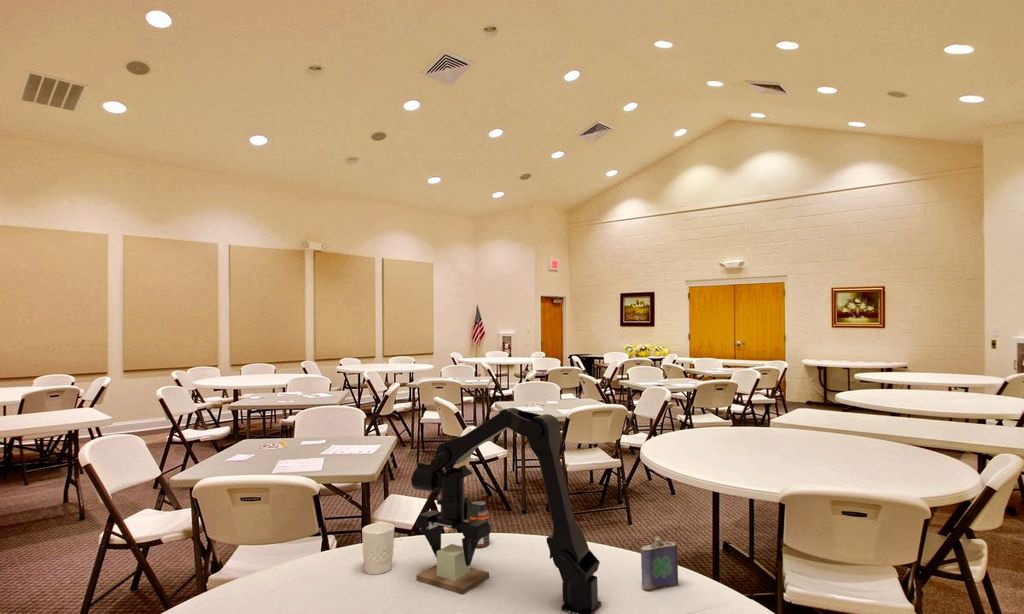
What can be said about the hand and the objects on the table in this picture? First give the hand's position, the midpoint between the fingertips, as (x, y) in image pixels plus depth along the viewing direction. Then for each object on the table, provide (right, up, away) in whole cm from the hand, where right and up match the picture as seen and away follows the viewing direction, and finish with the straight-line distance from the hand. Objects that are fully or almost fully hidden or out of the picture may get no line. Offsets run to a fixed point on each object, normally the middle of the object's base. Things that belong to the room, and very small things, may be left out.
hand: (453, 561), depth 122 cm
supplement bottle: (+5, -6, +21) cm, 23 cm away
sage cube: (0, -3, 0) cm, 3 cm away
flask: (+48, -3, -6) cm, 48 cm away
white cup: (-19, -5, +6) cm, 21 cm away
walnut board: (0, -4, 0) cm, 4 cm away
